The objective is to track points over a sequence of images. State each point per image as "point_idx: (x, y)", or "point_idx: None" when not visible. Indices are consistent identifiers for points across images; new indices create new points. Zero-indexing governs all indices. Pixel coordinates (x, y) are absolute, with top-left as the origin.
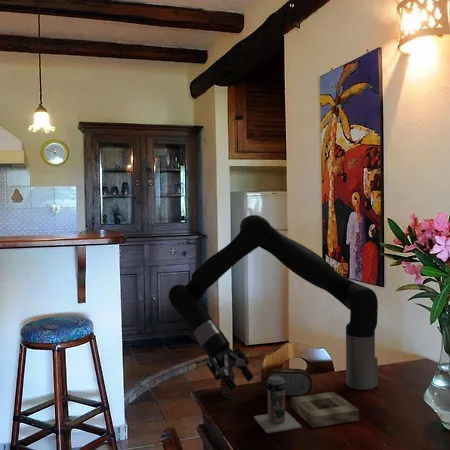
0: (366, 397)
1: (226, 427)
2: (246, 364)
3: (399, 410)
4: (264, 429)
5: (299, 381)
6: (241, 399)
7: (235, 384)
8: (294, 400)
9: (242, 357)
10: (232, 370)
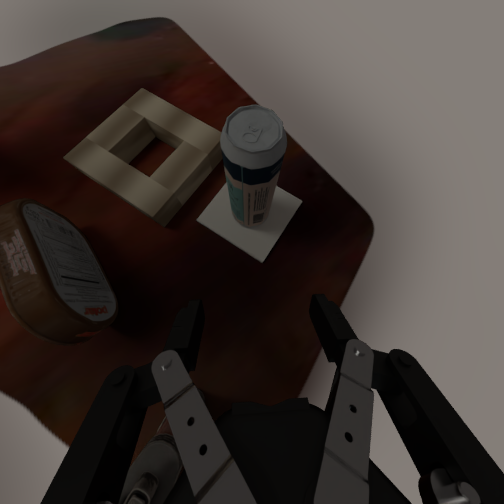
0: (30, 134)
1: (338, 282)
2: (161, 358)
3: (72, 77)
4: (295, 211)
5: (51, 229)
6: None
7: (318, 296)
8: (165, 203)
9: (112, 437)
10: (145, 472)
